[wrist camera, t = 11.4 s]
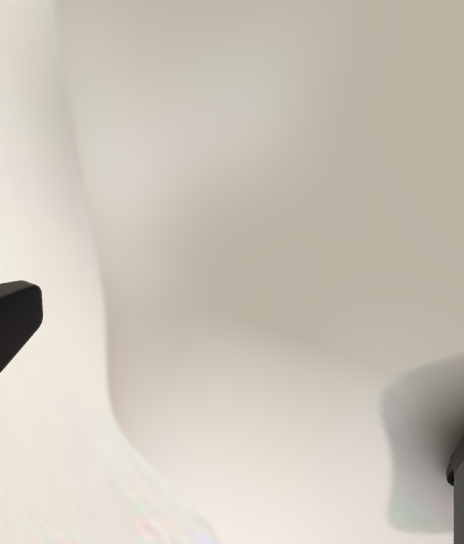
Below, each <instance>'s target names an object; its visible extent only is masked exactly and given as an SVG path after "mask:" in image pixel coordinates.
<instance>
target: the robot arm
mask: <svg viewBox="0 0 464 544" xmlns="http://www.w3.org/2000/svg"><path fill="white" fill-rule="evenodd" d="M42 320H43V307H42V292H41V289H40V287H39V286H37V285H35V284H32V283H29V282H27V281H22V280H20V281H14V282H8V283H2V284H0V373H1V371H2V370H3V369H4V368H5V367H6V366H7V364H8V363H9V362H10V361H11V360H12V359H13V357H14V356H15V355H16V354H17V353H18V352H19V350H20V349H21V348H22V347H23V346H24V345H25V343H26V342H27V341H28V340H29V339H30V338H31V336H32V335H33V334H34V333H35V332H36V331H37V329H38V328H39V327H40V325H41V323H42ZM451 461H452V463H451V465H450V466H449V468H448V469H447V471H446V477H447V481H448V483H449V484H451V485H452V486H454V544H464V437H463V439H462V441H461V442H460V444H459V445H458V447H457V448H456V450H455V452H454V453H453V455H452V457H451Z"/></svg>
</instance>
